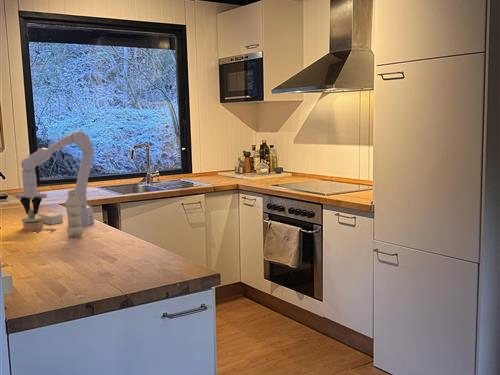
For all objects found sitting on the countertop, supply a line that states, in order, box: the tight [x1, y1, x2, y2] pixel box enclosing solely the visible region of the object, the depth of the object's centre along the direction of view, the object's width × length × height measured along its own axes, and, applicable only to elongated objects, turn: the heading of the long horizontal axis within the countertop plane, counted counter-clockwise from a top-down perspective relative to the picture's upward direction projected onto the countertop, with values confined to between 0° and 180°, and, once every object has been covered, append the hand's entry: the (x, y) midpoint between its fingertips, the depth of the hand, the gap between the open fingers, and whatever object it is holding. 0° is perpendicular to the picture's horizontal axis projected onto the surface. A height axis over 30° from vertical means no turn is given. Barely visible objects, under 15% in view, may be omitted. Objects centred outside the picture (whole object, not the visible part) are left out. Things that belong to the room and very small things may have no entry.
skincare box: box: [38, 211, 64, 225], centre depth 254 cm, size 6×4×12 cm
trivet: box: [32, 228, 57, 234], centre depth 234 cm, size 10×10×1 cm
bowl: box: [22, 220, 44, 231], centre depth 241 cm, size 8×8×4 cm
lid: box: [21, 209, 43, 223], centre depth 240 cm, size 9×9×5 cm
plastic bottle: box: [64, 189, 84, 238], centre depth 222 cm, size 6×7×20 cm
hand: (32, 213), depth 240 cm, fingers open, 3 cm apart
